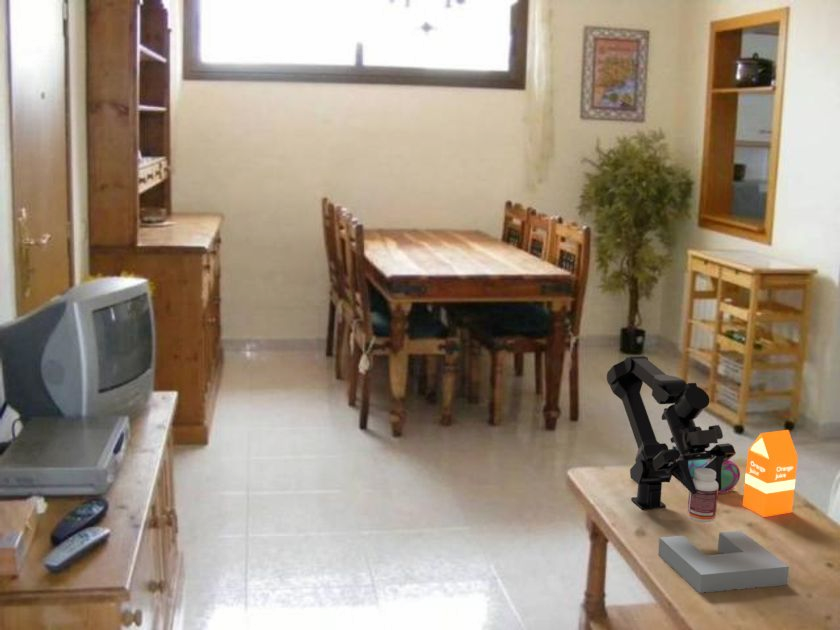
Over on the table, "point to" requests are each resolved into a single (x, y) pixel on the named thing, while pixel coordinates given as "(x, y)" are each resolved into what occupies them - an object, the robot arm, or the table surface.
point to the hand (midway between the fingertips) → (707, 492)
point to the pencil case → (728, 473)
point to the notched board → (724, 563)
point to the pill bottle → (703, 496)
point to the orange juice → (770, 474)
